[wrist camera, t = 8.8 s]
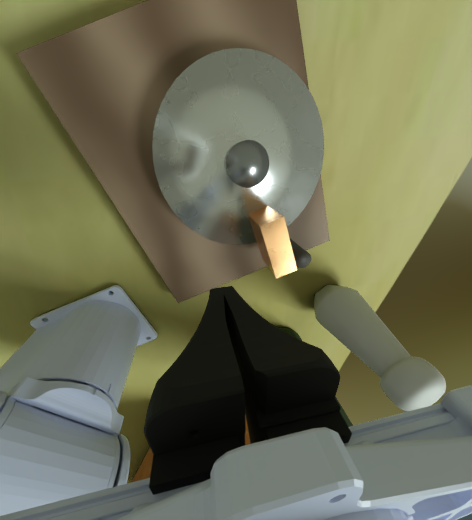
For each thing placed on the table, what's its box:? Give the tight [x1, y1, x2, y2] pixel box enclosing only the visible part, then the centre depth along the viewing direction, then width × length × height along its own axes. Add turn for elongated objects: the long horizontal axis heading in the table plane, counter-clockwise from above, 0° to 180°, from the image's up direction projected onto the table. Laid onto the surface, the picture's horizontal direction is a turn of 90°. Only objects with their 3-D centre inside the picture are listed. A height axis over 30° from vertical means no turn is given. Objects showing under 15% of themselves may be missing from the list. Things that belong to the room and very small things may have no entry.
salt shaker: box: [314, 285, 446, 411], centre depth 21 cm, size 6×6×13 cm
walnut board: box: [16, 0, 330, 303], centre depth 15 cm, size 17×20×6 cm
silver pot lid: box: [152, 48, 324, 278], centre depth 15 cm, size 15×13×5 cm
